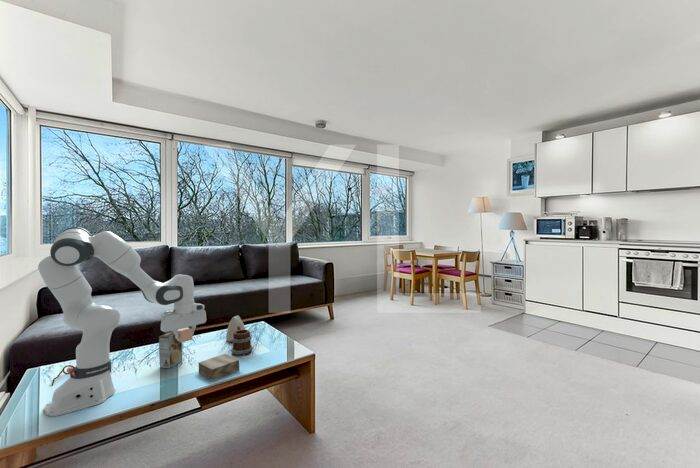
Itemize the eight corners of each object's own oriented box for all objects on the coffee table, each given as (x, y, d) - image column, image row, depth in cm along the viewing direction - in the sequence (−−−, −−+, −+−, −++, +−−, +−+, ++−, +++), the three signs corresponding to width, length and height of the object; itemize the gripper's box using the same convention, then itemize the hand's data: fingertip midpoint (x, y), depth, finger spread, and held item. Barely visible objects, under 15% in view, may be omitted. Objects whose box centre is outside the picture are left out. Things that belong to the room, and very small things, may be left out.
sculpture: (232, 335, 212) (231, 312, 212) (249, 335, 211) (249, 313, 211) (222, 342, 199) (222, 318, 199) (241, 342, 198) (240, 318, 198)
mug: (233, 358, 174) (231, 329, 176) (228, 354, 186) (227, 327, 188) (255, 353, 180) (253, 326, 182) (249, 350, 192) (247, 324, 194)
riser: (212, 380, 150) (212, 369, 150) (198, 372, 158) (198, 362, 158) (239, 369, 161) (239, 359, 160) (225, 363, 169) (225, 353, 169)
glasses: (96, 370, 163) (95, 360, 163) (85, 381, 151) (85, 371, 151) (63, 375, 158) (63, 365, 158) (50, 387, 146) (49, 376, 146)
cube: (181, 342, 152) (181, 331, 152) (176, 340, 155) (176, 329, 155) (192, 339, 155) (192, 329, 155) (187, 337, 159) (187, 327, 159)
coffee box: (172, 360, 173) (171, 330, 173) (182, 361, 172) (182, 331, 172) (159, 367, 164) (158, 336, 164) (170, 368, 163) (169, 337, 163)
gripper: (163, 313, 145) (164, 344, 145) (207, 304, 161) (208, 332, 161) (157, 311, 149) (158, 341, 149) (201, 303, 165) (202, 330, 165)
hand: (184, 336), depth 155 cm, fingers closed on cube, 5 cm apart
